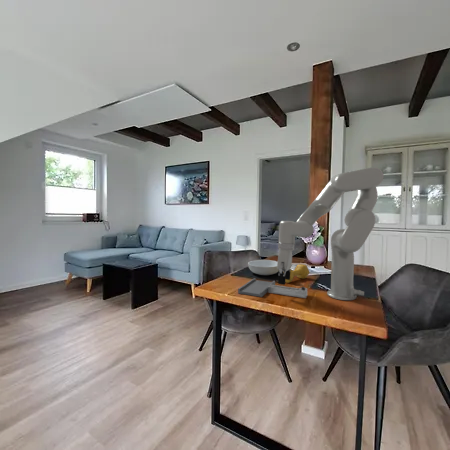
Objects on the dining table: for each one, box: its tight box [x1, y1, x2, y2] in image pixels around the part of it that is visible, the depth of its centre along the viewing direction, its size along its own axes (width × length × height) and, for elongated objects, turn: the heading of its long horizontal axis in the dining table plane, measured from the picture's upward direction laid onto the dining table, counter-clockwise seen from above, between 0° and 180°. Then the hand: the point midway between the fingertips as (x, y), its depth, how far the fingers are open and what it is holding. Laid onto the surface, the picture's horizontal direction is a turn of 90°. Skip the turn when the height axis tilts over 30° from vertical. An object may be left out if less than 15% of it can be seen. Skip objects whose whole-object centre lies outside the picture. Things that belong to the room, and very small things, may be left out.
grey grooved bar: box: [267, 284, 308, 299], centre depth 123 cm, size 18×4×4 cm, turn 63°
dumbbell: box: [283, 263, 310, 284], centre depth 148 cm, size 19×9×8 cm, turn 127°
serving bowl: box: [247, 259, 279, 276], centre depth 163 cm, size 21×21×7 cm
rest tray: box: [237, 277, 276, 298], centre depth 131 cm, size 12×22×2 cm, turn 153°
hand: (284, 281), depth 123 cm, fingers open, 9 cm apart
